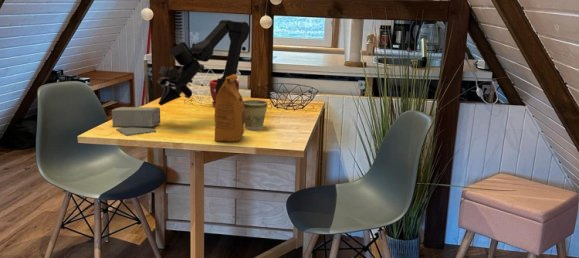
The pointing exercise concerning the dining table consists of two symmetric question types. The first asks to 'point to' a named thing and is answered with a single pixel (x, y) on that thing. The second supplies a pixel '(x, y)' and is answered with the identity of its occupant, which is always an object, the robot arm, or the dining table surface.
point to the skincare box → (136, 116)
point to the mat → (135, 130)
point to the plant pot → (212, 88)
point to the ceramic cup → (254, 114)
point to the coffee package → (229, 112)
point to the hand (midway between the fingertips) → (159, 104)
